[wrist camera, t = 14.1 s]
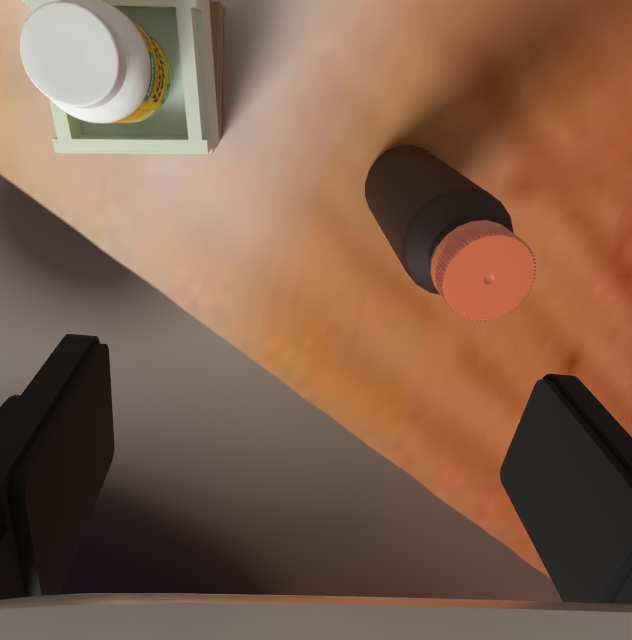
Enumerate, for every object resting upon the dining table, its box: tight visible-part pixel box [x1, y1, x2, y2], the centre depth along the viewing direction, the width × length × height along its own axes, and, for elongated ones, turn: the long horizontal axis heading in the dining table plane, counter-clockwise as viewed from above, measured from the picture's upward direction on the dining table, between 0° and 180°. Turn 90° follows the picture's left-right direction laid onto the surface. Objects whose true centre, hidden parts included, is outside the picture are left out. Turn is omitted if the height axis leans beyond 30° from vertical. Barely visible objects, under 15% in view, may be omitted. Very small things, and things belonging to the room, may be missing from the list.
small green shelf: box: [22, 0, 219, 154], centre depth 31 cm, size 9×9×6 cm
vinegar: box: [365, 146, 536, 321], centre depth 35 cm, size 7×7×20 cm
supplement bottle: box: [20, 0, 171, 123], centre depth 26 cm, size 5×5×10 cm
